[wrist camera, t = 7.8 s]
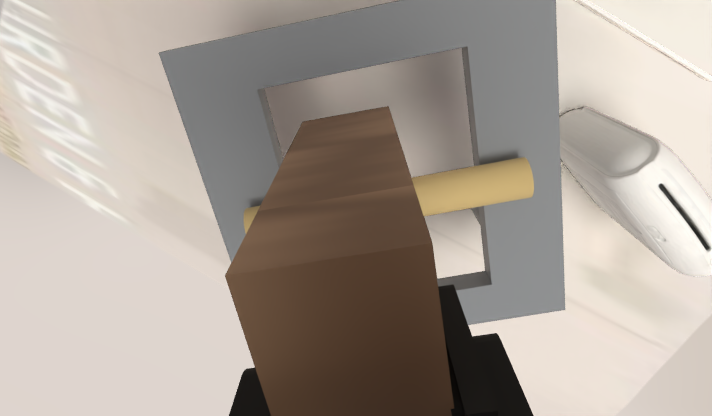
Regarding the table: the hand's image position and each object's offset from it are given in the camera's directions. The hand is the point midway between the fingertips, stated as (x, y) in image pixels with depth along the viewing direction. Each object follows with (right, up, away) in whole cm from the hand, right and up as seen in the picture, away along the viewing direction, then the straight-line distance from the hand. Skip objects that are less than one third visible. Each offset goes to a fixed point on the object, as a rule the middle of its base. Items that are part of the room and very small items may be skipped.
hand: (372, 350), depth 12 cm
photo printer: (+19, +7, +27) cm, 34 cm away
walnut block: (0, +3, +6) cm, 7 cm away
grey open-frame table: (+1, +10, +26) cm, 28 cm away
